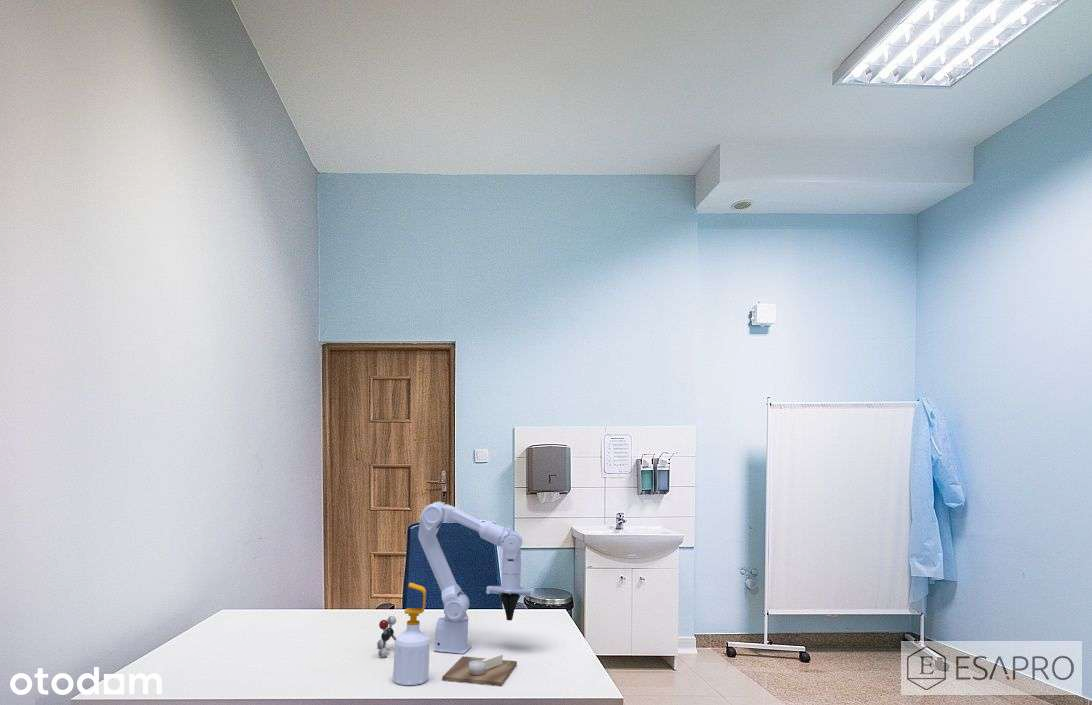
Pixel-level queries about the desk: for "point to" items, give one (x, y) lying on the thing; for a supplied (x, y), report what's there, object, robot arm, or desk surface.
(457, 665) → the dial board
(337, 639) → the desk surface
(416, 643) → the soap bottle
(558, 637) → the desk surface
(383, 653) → the molecular model
